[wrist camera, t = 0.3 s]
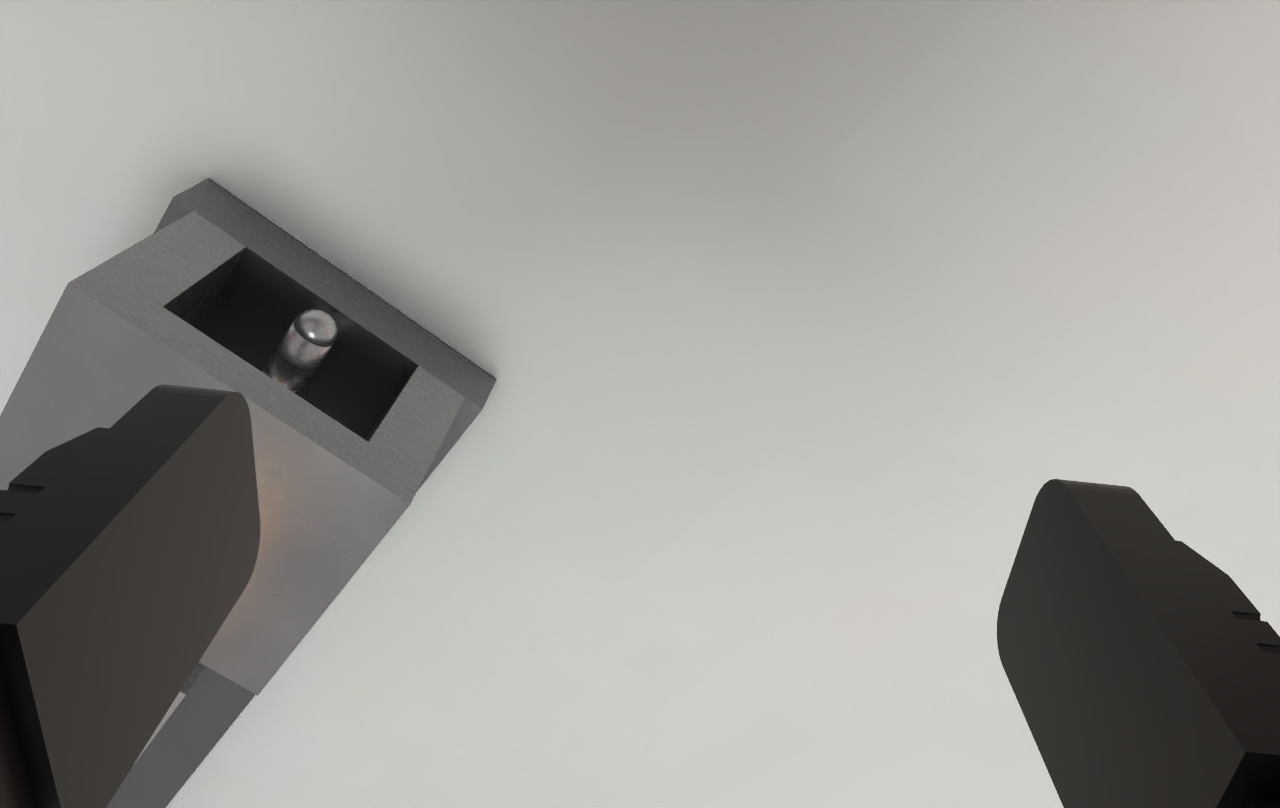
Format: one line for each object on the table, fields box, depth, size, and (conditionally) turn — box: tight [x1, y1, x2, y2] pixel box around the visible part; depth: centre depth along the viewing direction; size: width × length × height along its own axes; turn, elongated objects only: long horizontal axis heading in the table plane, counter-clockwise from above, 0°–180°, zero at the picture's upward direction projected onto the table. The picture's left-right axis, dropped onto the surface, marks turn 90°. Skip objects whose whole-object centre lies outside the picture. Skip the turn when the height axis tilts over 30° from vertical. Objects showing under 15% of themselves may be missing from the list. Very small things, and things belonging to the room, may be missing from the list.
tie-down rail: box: [0, 179, 496, 808], centre depth 32 cm, size 32×10×8 cm, turn 142°
